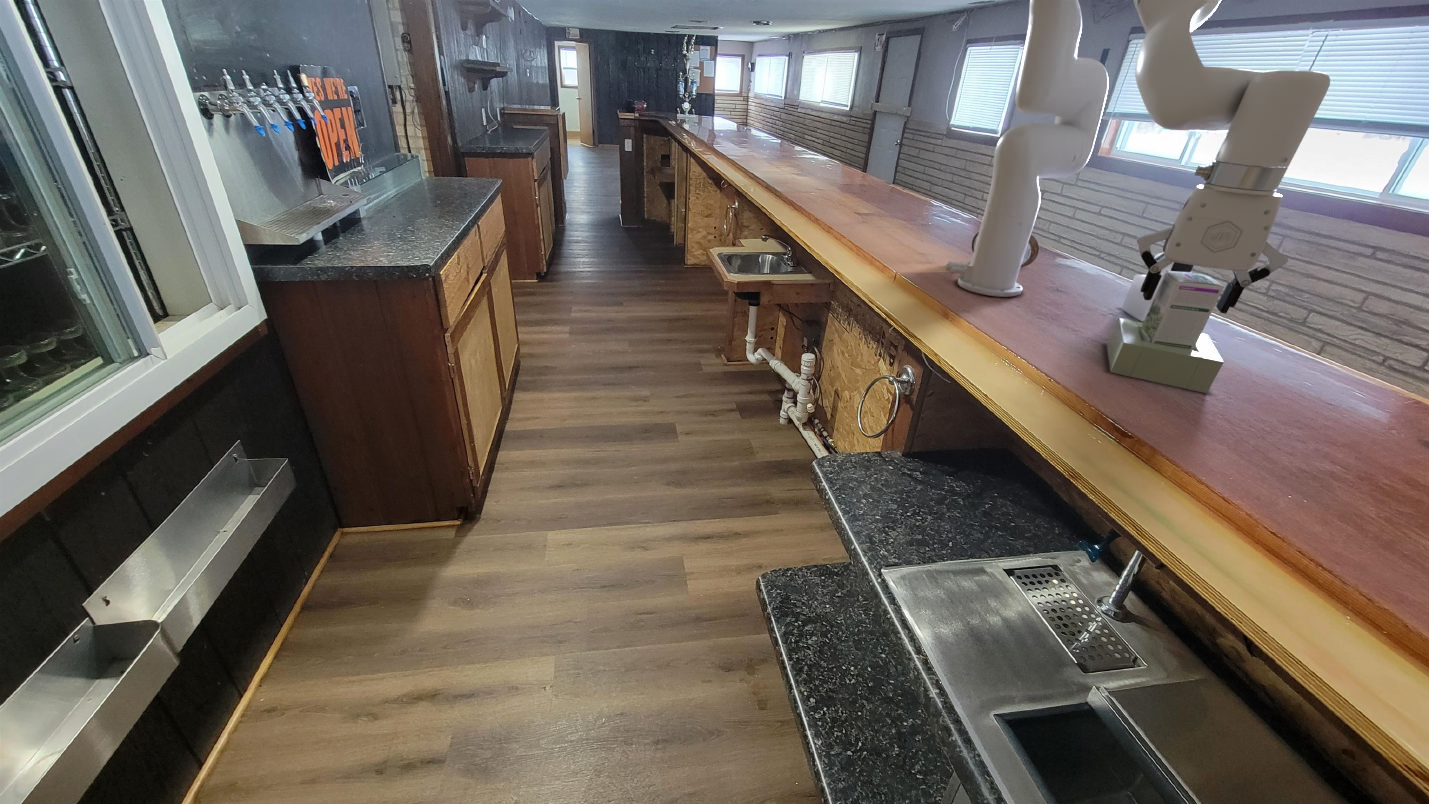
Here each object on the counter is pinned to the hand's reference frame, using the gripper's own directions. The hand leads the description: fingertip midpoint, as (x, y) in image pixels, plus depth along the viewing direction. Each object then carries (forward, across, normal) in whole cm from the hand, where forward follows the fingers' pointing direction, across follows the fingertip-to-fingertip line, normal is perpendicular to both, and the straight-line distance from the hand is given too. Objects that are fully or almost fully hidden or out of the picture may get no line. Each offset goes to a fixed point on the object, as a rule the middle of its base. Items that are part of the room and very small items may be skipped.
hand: (1182, 303), depth 83 cm
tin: (+11, -27, +50) cm, 58 cm away
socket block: (+11, 0, 0) cm, 11 cm away
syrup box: (+11, 0, 0) cm, 11 cm away
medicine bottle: (+11, +2, +28) cm, 30 cm away
